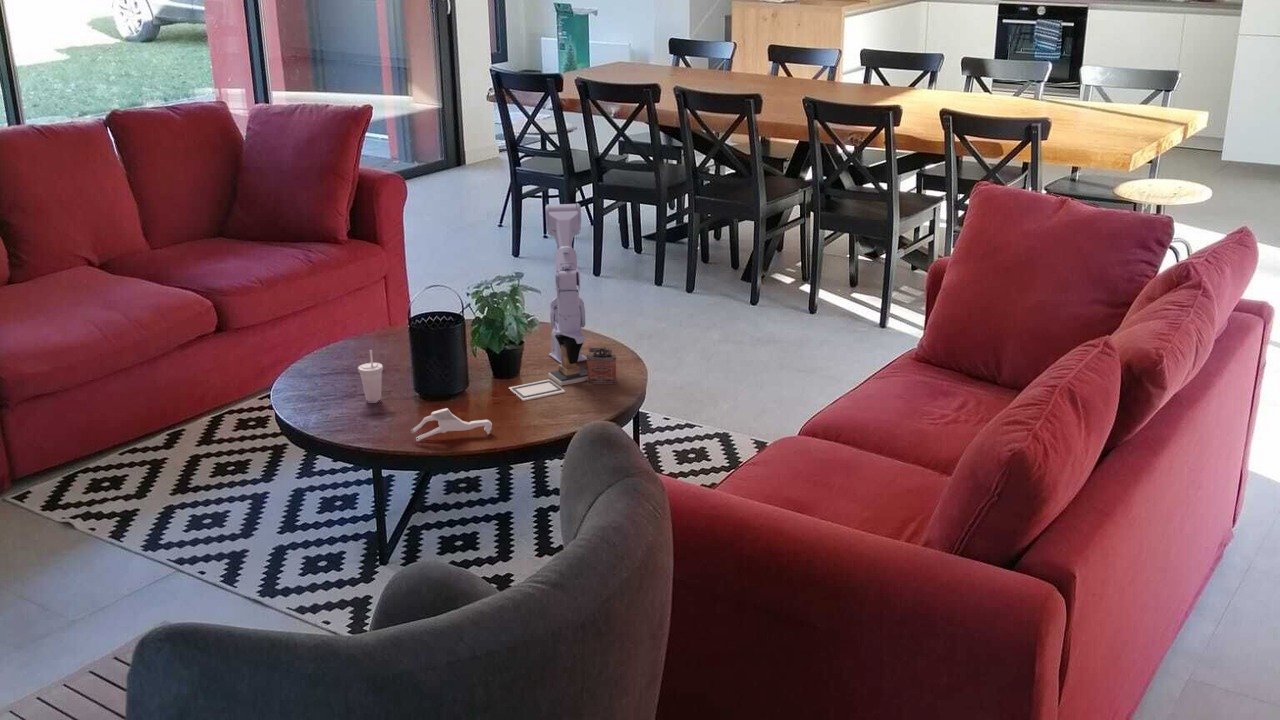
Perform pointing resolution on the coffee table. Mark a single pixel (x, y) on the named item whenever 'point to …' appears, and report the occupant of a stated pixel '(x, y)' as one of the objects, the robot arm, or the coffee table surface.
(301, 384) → the coffee table surface
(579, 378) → the ink pad
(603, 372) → the lighter
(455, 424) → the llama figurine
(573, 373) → the stamp
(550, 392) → the marked card
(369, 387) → the smoothie
